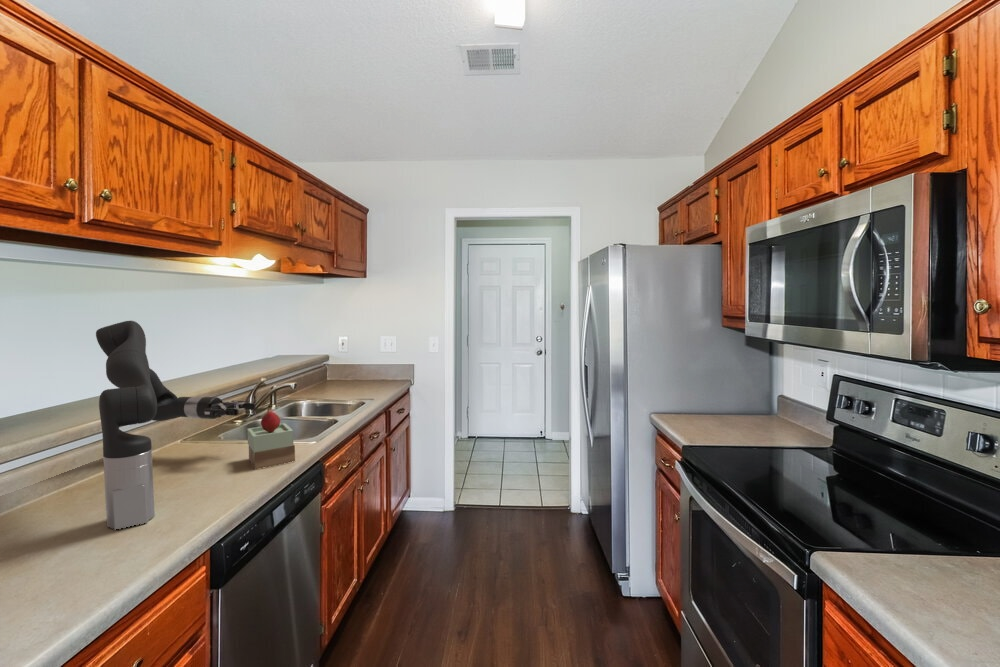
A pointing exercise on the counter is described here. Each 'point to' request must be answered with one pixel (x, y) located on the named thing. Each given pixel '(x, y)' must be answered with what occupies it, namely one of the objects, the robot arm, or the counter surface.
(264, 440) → the tower top
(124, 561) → the counter surface
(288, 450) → the tower base
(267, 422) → the onion
